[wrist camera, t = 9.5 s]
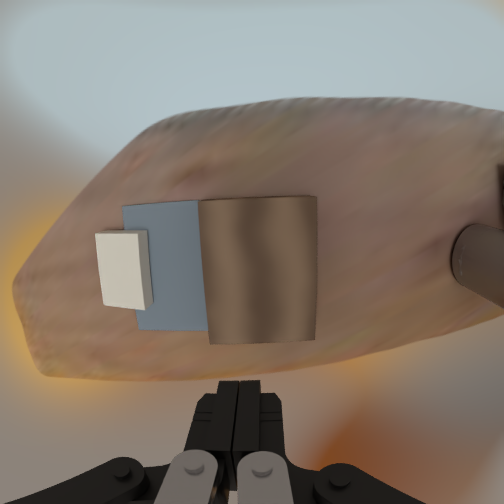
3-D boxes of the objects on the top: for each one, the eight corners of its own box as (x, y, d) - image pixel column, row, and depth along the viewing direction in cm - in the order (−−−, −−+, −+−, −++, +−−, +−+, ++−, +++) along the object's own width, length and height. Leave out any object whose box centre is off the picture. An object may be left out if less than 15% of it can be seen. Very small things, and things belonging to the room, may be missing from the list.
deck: (309, 195, 34) (316, 196, 30) (308, 324, 37) (314, 339, 33) (203, 199, 34) (197, 201, 30) (213, 328, 37) (209, 344, 33)
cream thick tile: (95, 233, 32) (106, 230, 35) (104, 305, 34) (113, 298, 37) (137, 233, 32) (147, 230, 34) (144, 310, 34) (153, 302, 36)
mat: (199, 200, 34) (198, 200, 34) (209, 329, 37) (209, 330, 37) (123, 206, 34) (122, 206, 34) (140, 328, 37) (139, 329, 37)
